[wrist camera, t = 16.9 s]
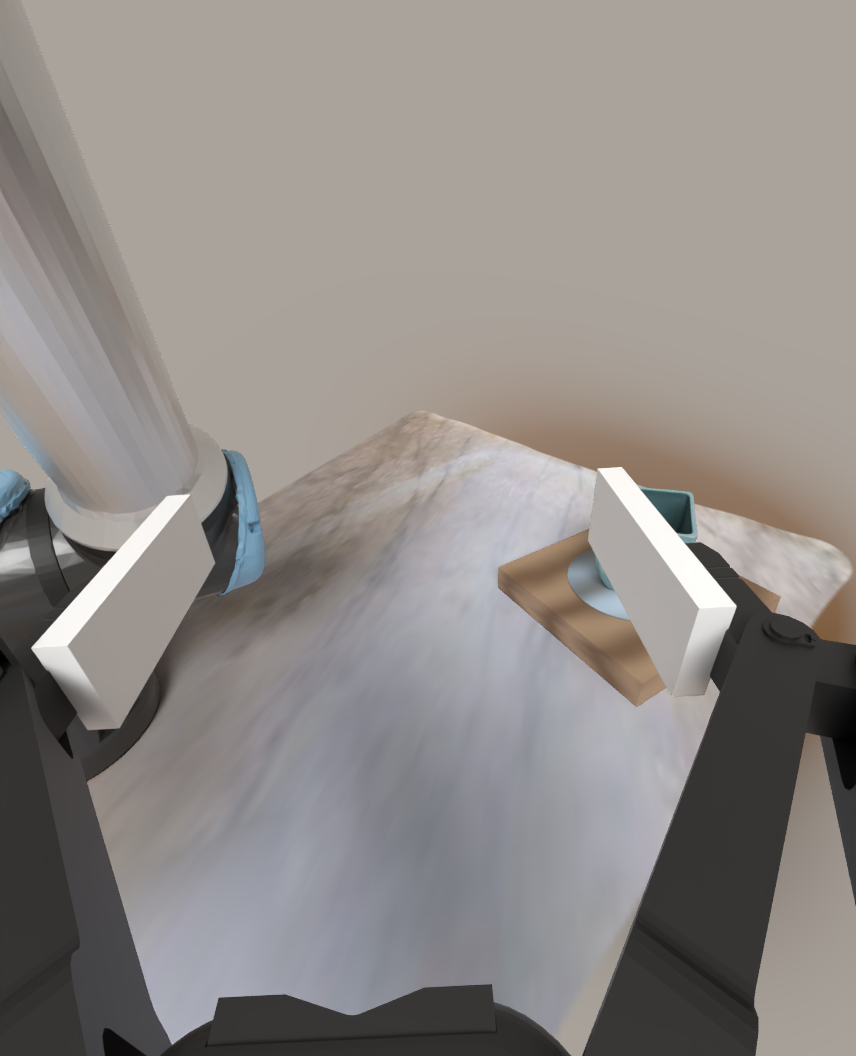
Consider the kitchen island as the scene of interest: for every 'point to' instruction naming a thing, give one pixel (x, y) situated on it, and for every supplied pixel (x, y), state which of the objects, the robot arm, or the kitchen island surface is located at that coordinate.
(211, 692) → the kitchen island surface
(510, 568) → the walnut plinth
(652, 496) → the flower pot
